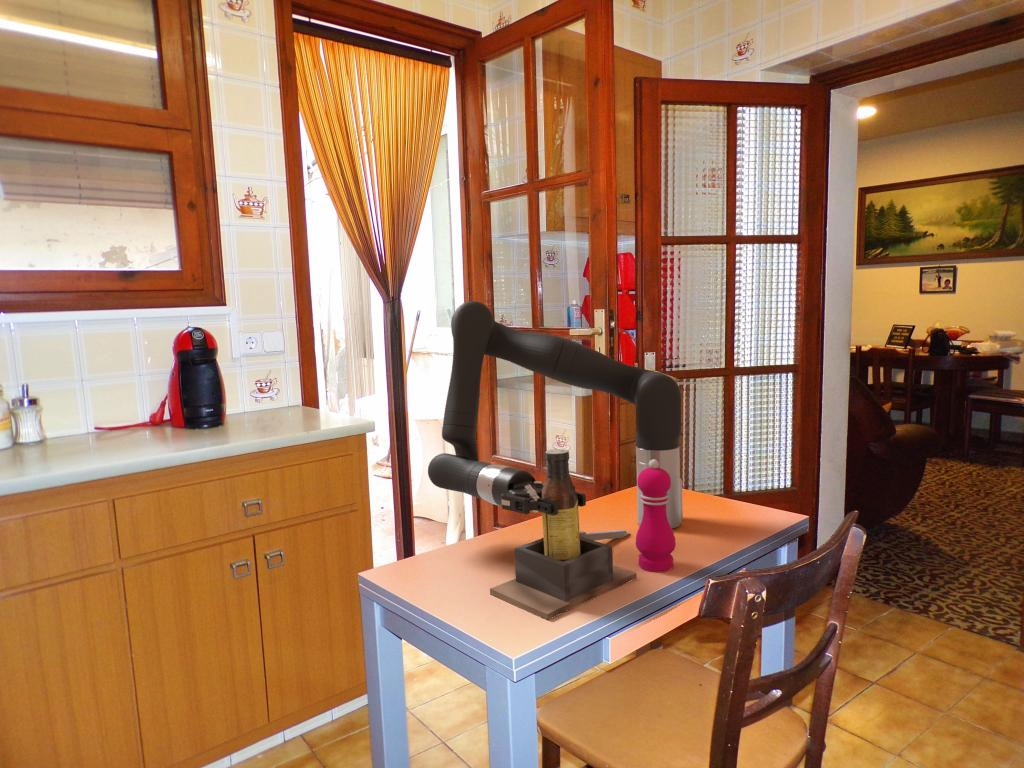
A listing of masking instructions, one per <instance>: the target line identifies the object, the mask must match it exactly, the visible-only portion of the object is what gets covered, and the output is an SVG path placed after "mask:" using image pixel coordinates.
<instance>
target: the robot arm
mask: <svg viewBox="0 0 1024 768" xmlns="http://www.w3.org/2000/svg"><path fill="white" fill-rule="evenodd" d="M494 319H495V318H494V315H493V314H492V311H491V310H490V308H489V307H488V306H487V305H486V304H484V303H482V302H480V301H476V300H471V301H470V300H469V301H466V302H463V303H462V304H460V305H459V306H458V307H457V308H456V309H455V311H454V312H453V314H452V317H451V321H450V326H451V327H450V328H451V330H450V331H451V335H452V336H451V337H452V339H453V340H452V343H453V349H452V350H453V351H452V365H451V372H450V379H449V385H448V391H447V396H446V401H445V407H444V413H443V420H442V429H441V438H442V439H443V441H445V442H446V443H449V444H450V445H451V446H453V448H454V452H455V454H451V453H447V452H446V453H439V454H437V455H436V456H434V457H433V458H432V459H431V460H430V461H429V463H428V466H427V467H428V468H427V475H428V478H429V480H430V482H431V483H432V484H433V485H434V486H435V487H437V488H440V489H443V490H449V491H453V492H459V493H463V494H467V495H470V496H472V497H475V498H477V499H481V500H483V501H486V502H488V503H490V504H492V505H495V506H498V507H501V509H502V510H506V511H511V512H515V513H519V514H522V515H529V514H530V513H531V512H533V513H536V514H537V513H542V512H543V513H546V514H549V515H553V516H554V515H557V514H558V504H557V502H554V501H551V500H547V499H544V498H542V488H543V486H544V484H545V483H546V482H544V481H540V480H537V479H535V476H534V475H533V474H532V473H531V472H529V471H527V470H523V469H519V468H516V467H512V466H507V465H503V464H493V463H489V462H485V461H480V460H479V455H478V454H479V453H478V445H477V438H476V433H477V426H478V417H479V409H480V408H479V407H480V398H481V397H480V394H481V378H482V370H483V361H484V358H485V357H484V356H489V357H493V358H496V359H501V360H504V361H506V362H510V363H512V364H515V365H516V366H519V367H522V368H524V369H526V370H528V371H531V372H534V373H536V374H538V375H542V376H544V377H546V378H548V379H552V380H555V381H557V382H560V383H563V384H566V385H569V386H573V387H577V388H582V389H585V390H586V389H587V390H592V391H596V392H597V391H598V392H603V393H607V394H610V395H612V396H615V397H618V398H620V399H621V400H623V401H626V402H628V403H631V404H632V405H634V406H636V422H637V423H636V426H637V427H636V433H635V458H636V459H635V462H636V463H635V464H636V497H637V498H636V501H637V502H636V504H637V507H636V508H637V524H638V525H639V526H640V525H641V522H642V518H643V510H644V508H643V503H642V502H641V494H642V491H641V490H640V489H639V487H638V483H637V481H638V476H639V474H640V472H641V471H642V470H644V469H646V468H650V467H649V462H650V460H652V459H655V460H657V461H658V463H659V466H658V468H661V469H664V470H665V471H667V473H668V474H669V476H670V478H671V487H670V489H669V490H668V491H667V494H668V495H669V497H668V500H669V502H668V503H666V513H667V518H668V522H669V524H670V526H671V529H672V530H673V529H676V528H677V527H680V526H681V524H682V522H683V521H684V518H683V517H684V516H683V515H684V514H683V512H684V511H683V510H684V509H683V505H684V504H683V478H681V469H680V468H681V462H680V461H681V460H680V459H681V458H680V439H681V438H680V437H681V434H682V394H681V388H680V386H679V384H678V383H677V381H676V380H675V379H673V377H671V376H670V375H667V374H665V373H664V372H661V371H656V370H651V369H646V368H642V367H638V366H635V365H630V364H627V363H623V362H621V361H618V360H615V359H613V358H612V357H609V356H608V355H605V354H604V353H602V352H600V351H598V350H595V349H594V348H592V347H589V346H586V345H584V344H581V343H579V342H576V341H574V340H572V339H571V340H570V339H568V338H565V337H563V336H562V337H561V336H558V335H554V334H548V333H543V332H542V333H541V332H530V331H524V330H523V331H522V330H517V329H514V328H511V327H509V326H507V325H504V324H502V323H500V322H497V321H495V320H494ZM573 486H574V489H575V490H576V485H575V484H573ZM576 494H577V497H578V507H584V506H586V505H587V502H586V501H587V498H586V494H585V493H584V492H580V491H576Z"/></svg>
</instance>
